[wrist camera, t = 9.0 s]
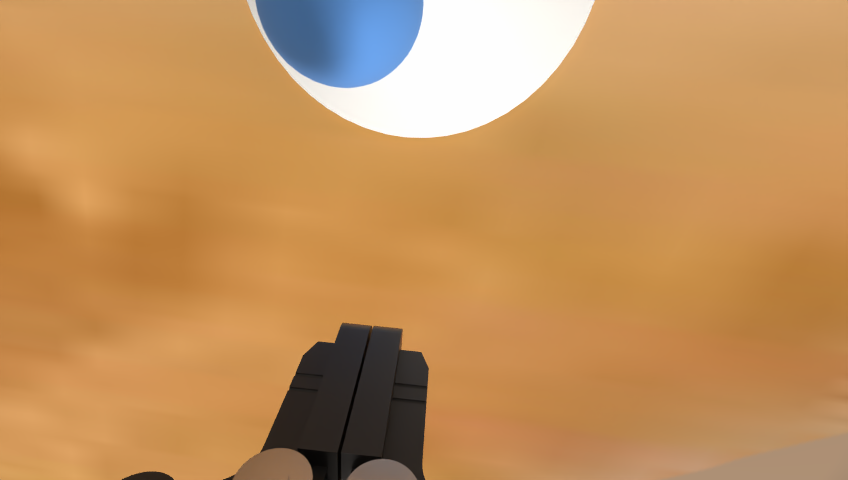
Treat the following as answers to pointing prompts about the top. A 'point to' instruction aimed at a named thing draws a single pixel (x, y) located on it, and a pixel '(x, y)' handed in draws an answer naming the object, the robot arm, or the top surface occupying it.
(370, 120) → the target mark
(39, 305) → the top surface
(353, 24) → the ball
